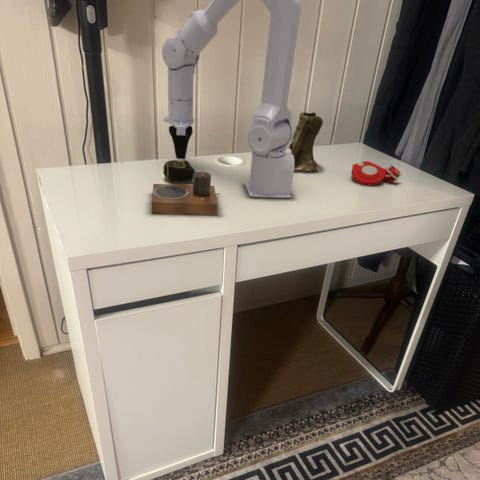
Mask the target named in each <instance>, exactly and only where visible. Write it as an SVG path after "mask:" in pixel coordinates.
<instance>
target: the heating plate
mask: <svg viewBox="0 0 480 480" xmlns="http://www.w3.org/2000/svg"><path fill="white" fill-rule="evenodd" d="M154 195H155V196H157V197H160V198H163V199H180V198H184V197H186V196H187V195H188V191H187V190H186V189H184V188H181V187H177V186H162V187H158V188H156V189H155V190H154Z"/></svg>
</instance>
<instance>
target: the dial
mask: <svg viewBox="0 0 480 480" xmlns="http://www.w3.org/2000/svg"><path fill="white" fill-rule="evenodd" d="M211 182H212V174H211V173H210V172H208V171H207V172H206V171H195V173H193V180H192V185H193V194H194V195H195V196H199V197H206V196H209V195H210V186H212V185H211Z"/></svg>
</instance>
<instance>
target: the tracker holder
mask: <svg viewBox="0 0 480 480" xmlns="http://www.w3.org/2000/svg"><path fill="white" fill-rule="evenodd" d="M351 168H352V169H351V177H352V179H353V181H355V182H356V183H357V184H359V185H363V186H375V185H378V184H380V183H382V182H388V183H389V182H391V183H393V182H395V181H396V182H397V181H398V180H399V179H400V177H402V174H403V173H402V172H401V171H400V170H399V169H397V168H396V166H395V165H393V164H392V163H390V164H389V166H388V167H386V168H383V167H381V166H380V165H378V164H376V163H374V162H371V161H367V160H365V161H361V162H357V163H354V164H352V166H351Z"/></svg>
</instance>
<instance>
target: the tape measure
mask: <svg viewBox="0 0 480 480" xmlns="http://www.w3.org/2000/svg"><path fill="white" fill-rule="evenodd" d="M195 172H196V170H195V168H194V167H192V166H191V164H190V163H189V160H179V159H177V160H176V159H174V160H168V161H166V162H165V163H164V165H163V175H164V177H165V179H166V180H169V181H171V182H173V183H174V182H176V183H177V182H178V183H182V182H187V181H188V182H189V181H193V173H195Z"/></svg>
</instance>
